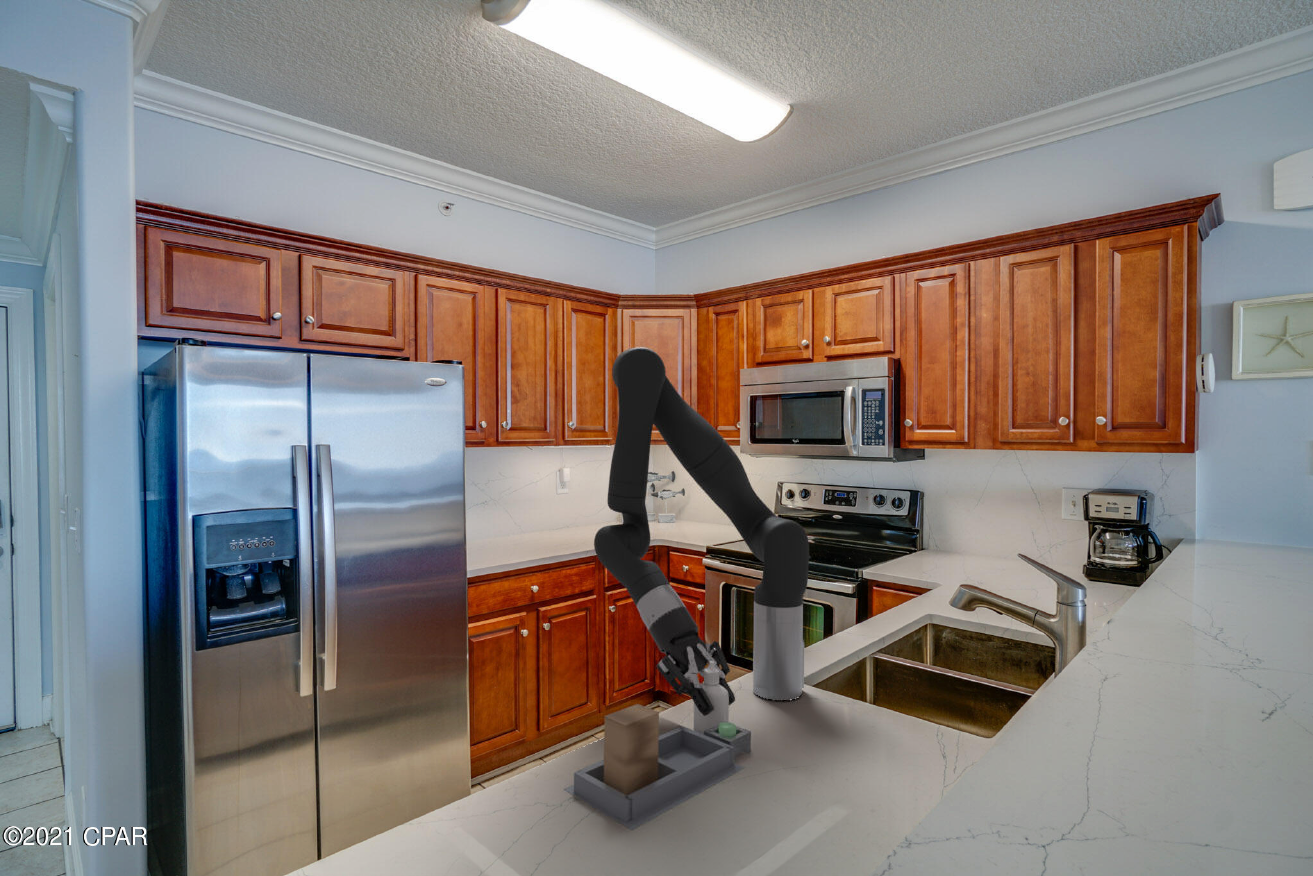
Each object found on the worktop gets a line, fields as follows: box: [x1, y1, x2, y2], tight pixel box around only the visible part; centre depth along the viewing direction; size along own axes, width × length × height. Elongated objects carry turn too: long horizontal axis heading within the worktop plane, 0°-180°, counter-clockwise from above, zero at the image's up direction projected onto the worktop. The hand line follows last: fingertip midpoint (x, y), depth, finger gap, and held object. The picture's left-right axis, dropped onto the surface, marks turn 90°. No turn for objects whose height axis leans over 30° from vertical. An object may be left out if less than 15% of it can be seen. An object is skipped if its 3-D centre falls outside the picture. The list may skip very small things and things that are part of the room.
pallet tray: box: [563, 725, 745, 831], centre depth 91 cm, size 22×13×4 cm, turn 136°
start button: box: [719, 722, 737, 738], centre depth 100 cm, size 3×3×3 cm
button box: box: [704, 722, 752, 758], centre depth 100 cm, size 5×5×4 cm
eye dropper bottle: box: [693, 661, 730, 735], centre depth 107 cm, size 4×6×12 cm
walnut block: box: [603, 703, 660, 796], centre depth 87 cm, size 6×4×10 cm, turn 136°
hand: (720, 707), depth 106 cm, fingers open, 5 cm apart
